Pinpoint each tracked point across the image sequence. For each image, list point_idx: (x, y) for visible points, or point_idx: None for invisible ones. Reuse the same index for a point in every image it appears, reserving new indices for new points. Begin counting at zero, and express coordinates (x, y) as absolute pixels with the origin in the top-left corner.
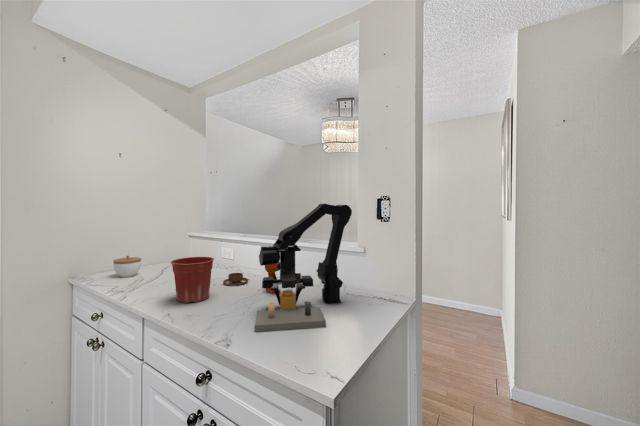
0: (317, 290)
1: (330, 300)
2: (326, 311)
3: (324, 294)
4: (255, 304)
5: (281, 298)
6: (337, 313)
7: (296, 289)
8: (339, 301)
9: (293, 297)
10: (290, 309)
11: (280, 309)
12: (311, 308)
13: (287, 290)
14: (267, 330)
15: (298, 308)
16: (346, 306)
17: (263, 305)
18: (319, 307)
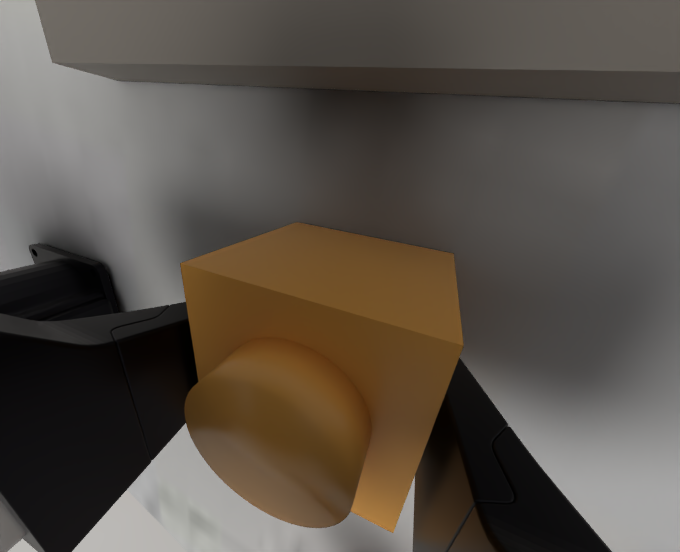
0: (164, 456)
1: (65, 269)
2: (80, 101)
3: (48, 315)
4: (669, 534)
5: (437, 322)
6: (10, 30)
7: (104, 410)
8: (34, 246)
9: (224, 265)
10: (353, 30)
11: (528, 68)
12: (108, 25)
13: (262, 489)
14: None
15: (242, 60)
16: (4, 169)
17: (586, 466)
18: (49, 48)
